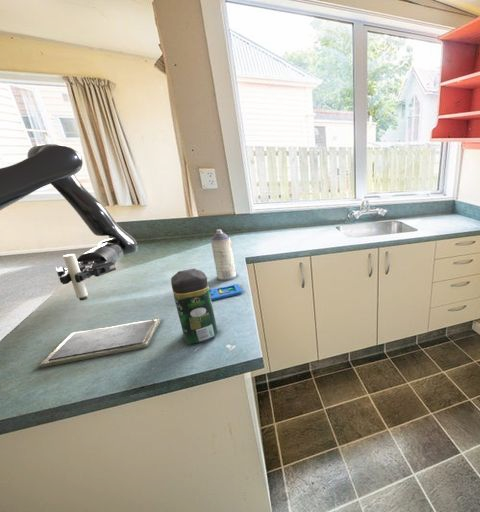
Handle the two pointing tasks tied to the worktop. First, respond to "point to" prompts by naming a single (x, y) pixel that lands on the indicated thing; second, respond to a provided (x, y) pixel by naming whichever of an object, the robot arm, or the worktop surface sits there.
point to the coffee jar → (194, 305)
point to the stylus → (73, 270)
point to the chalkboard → (103, 342)
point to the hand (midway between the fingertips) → (70, 279)
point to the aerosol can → (223, 256)
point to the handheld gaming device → (225, 291)
